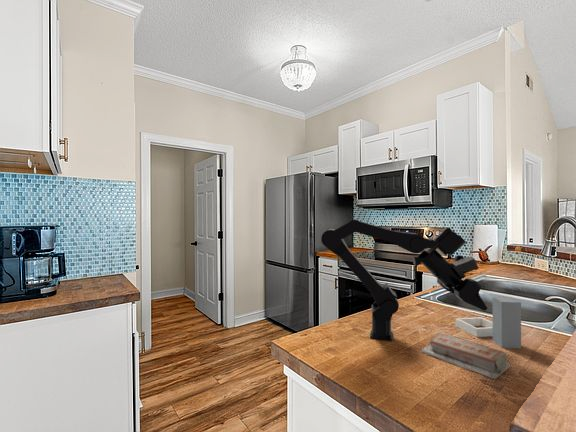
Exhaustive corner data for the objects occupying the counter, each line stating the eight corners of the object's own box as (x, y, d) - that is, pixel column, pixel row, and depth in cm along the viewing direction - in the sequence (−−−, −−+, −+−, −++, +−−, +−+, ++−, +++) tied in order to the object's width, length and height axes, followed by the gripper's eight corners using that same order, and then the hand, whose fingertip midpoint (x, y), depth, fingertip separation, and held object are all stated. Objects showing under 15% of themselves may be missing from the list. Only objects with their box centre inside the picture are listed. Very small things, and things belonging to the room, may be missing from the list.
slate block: (501, 347, 86) (501, 301, 86) (492, 340, 91) (492, 297, 91) (521, 348, 86) (521, 302, 86) (511, 341, 91) (510, 297, 91)
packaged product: (510, 349, 76) (495, 360, 70) (510, 368, 76) (495, 382, 70) (438, 327, 90) (420, 336, 84) (438, 344, 90) (420, 353, 84)
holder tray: (476, 337, 94) (476, 329, 94) (455, 325, 103) (455, 318, 103) (504, 335, 95) (504, 327, 95) (481, 324, 105) (481, 317, 105)
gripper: (473, 251, 81) (518, 294, 80) (447, 244, 100) (483, 279, 98) (441, 279, 82) (485, 322, 81) (422, 267, 101) (457, 302, 99)
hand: (478, 304), depth 90 cm, fingers open, 9 cm apart
